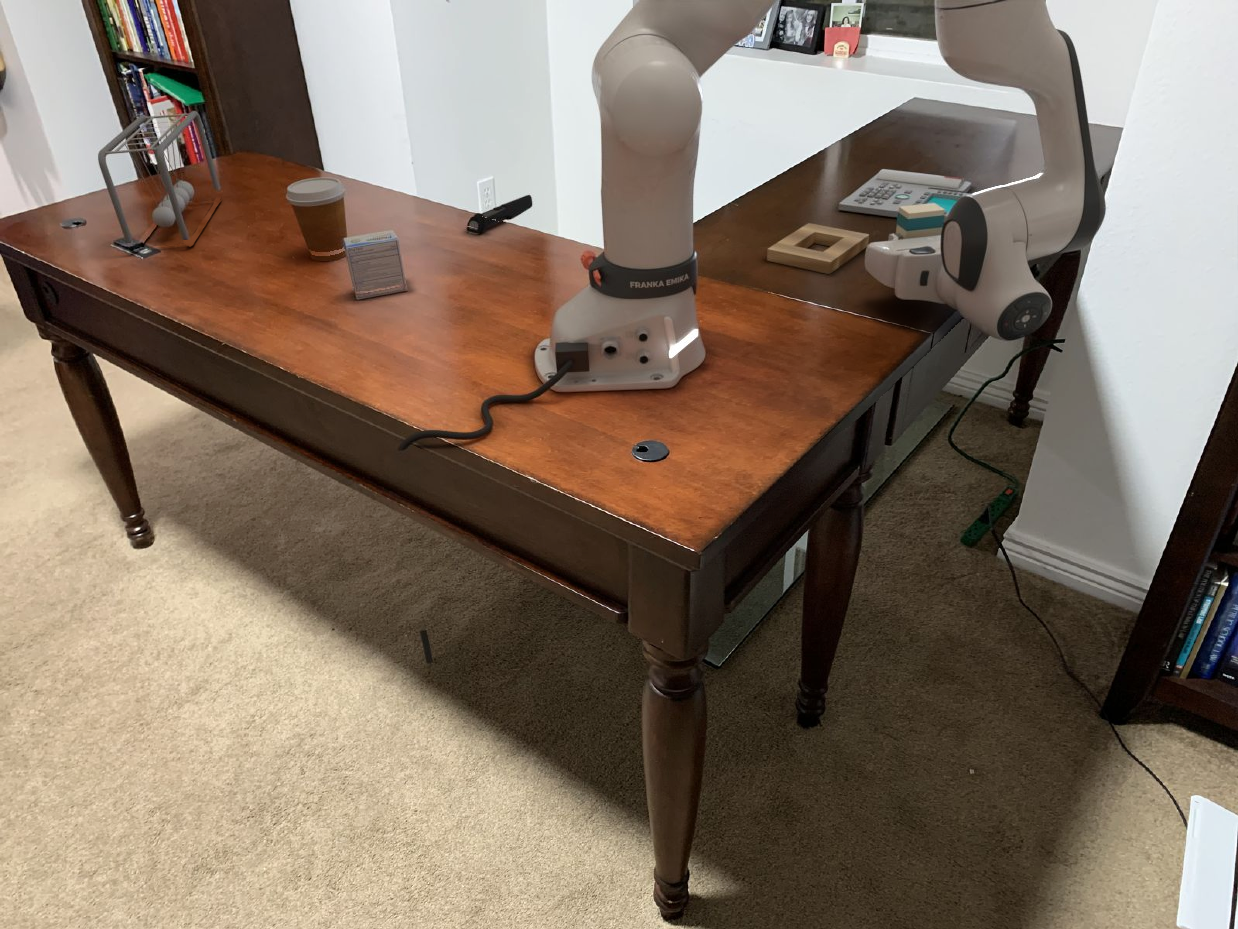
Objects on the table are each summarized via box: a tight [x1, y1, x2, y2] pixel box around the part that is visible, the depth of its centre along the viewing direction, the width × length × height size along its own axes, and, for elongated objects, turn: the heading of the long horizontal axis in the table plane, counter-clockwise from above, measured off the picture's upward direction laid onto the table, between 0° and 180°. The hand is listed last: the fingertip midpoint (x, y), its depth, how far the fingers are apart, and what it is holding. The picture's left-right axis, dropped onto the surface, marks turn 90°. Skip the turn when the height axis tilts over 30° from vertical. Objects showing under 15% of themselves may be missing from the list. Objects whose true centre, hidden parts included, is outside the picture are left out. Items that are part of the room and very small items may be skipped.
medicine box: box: [343, 229, 408, 301], centre depth 142 cm, size 8×4×9 cm, turn 111°
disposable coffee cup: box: [285, 176, 348, 262], centre depth 155 cm, size 10×10×12 cm
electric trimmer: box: [466, 194, 533, 236], centre depth 168 cm, size 4×16×3 cm, turn 142°
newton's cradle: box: [97, 110, 222, 244], centre depth 170 cm, size 30×10×18 cm, turn 9°
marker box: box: [895, 203, 945, 239], centre depth 135 cm, size 6×3×10 cm, turn 101°
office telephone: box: [837, 168, 972, 223], centre depth 169 cm, size 23×3×20 cm
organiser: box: [766, 222, 870, 275], centre depth 149 cm, size 14×11×2 cm
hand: (914, 236), depth 135 cm, fingers closed on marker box, 5 cm apart
